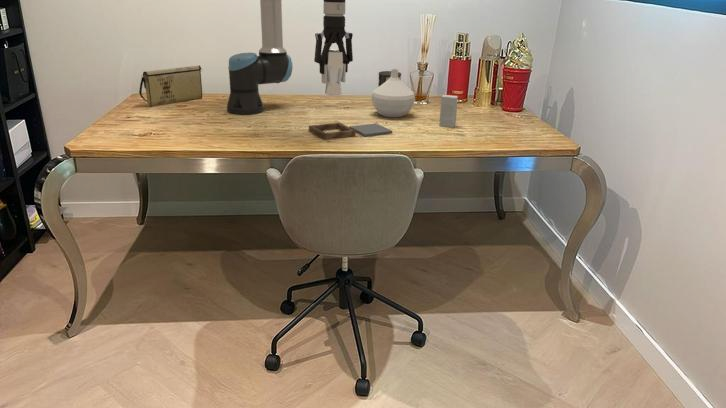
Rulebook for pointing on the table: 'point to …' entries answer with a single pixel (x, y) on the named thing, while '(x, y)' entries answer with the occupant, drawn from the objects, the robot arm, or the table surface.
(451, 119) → the skincare box
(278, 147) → the table surface
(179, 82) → the clutch purse
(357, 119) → the table surface
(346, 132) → the frame
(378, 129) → the slate pad
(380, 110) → the vase
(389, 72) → the coffee can
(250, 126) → the table surface
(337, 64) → the beer glass
